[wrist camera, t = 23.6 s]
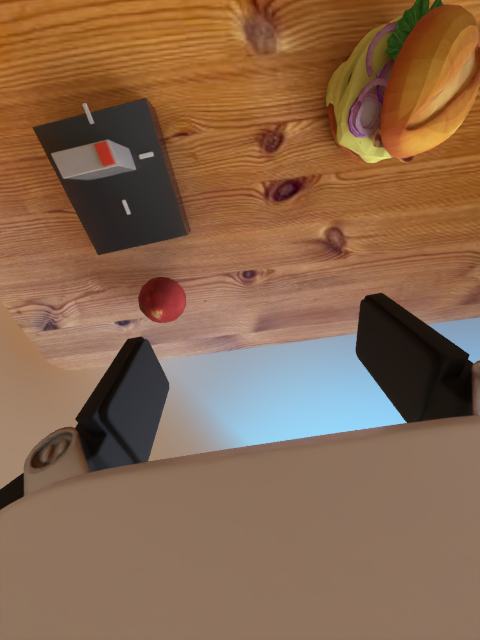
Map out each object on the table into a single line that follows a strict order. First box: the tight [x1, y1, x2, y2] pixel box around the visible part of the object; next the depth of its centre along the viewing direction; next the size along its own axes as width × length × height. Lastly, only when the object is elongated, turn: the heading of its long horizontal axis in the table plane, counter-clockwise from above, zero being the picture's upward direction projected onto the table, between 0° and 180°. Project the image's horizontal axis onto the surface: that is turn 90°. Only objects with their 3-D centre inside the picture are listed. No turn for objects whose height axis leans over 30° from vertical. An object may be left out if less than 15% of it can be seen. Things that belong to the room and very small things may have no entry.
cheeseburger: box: [326, 0, 480, 163], centre depth 21 cm, size 10×11×10 cm
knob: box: [51, 139, 136, 180], centre depth 21 cm, size 5×2×5 cm, turn 101°
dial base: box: [33, 98, 191, 255], centre depth 25 cm, size 13×11×3 cm
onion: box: [138, 277, 186, 323], centre depth 29 cm, size 6×6×8 cm
